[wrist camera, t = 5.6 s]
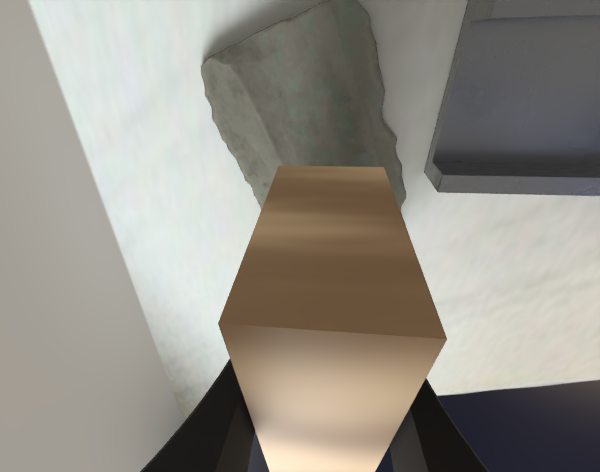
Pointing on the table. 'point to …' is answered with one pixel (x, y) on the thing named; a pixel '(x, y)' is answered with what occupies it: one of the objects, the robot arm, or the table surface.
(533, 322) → the table surface
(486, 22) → the rack
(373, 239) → the oak board
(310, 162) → the stone slab
